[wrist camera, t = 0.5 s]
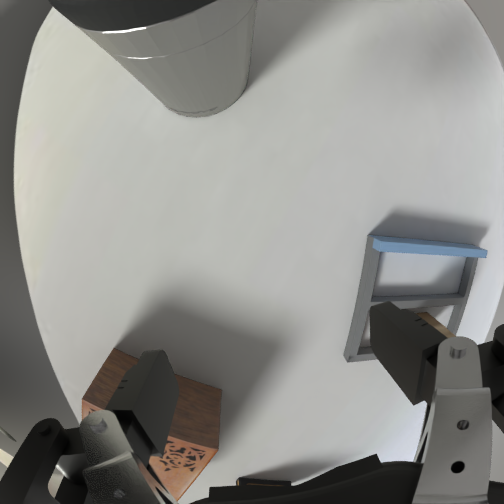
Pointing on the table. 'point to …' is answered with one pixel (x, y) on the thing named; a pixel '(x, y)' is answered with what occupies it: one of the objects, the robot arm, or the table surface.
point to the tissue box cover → (182, 427)
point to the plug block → (436, 324)
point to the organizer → (404, 302)
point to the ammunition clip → (262, 482)
